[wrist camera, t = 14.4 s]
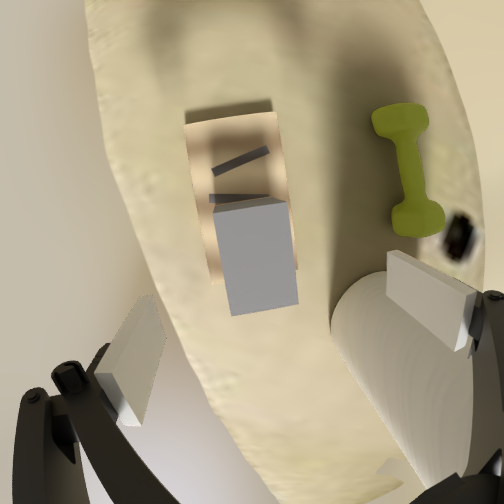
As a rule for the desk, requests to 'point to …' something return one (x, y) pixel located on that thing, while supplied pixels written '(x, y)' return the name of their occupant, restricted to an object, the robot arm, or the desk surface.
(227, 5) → the desk surface
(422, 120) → the dumbbell
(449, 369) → the vase
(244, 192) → the board
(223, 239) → the block
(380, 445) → the desk surface
